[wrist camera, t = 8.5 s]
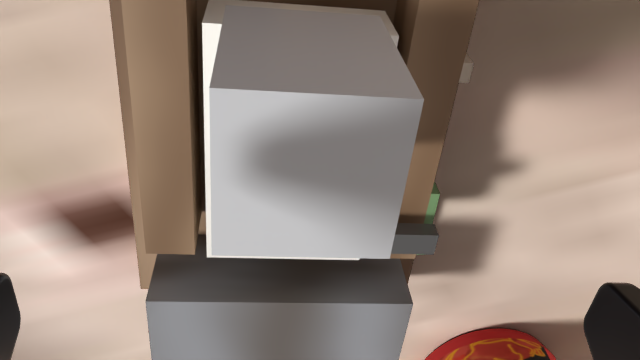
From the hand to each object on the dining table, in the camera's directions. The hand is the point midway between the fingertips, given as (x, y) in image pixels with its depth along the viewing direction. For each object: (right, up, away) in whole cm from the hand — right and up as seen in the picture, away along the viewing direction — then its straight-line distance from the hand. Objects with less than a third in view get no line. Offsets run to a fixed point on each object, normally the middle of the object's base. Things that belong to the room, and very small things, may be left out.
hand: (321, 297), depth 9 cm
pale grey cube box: (0, +4, +10) cm, 11 cm away
